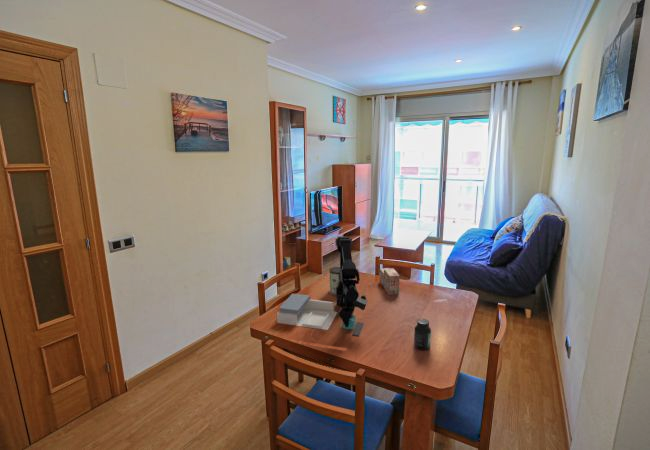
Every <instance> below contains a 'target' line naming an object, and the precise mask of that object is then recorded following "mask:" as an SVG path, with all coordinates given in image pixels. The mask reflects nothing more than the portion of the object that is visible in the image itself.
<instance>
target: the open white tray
mask: <svg viewBox="0 0 650 450" xmlns="http://www.w3.org/2000/svg"><path fill="white" fill-rule="evenodd" d="M337 315H338V311H335V302H334V301H326V300H316V299H310V300H309V301H308V302H307V303H306V305H305V306H304V307H303V309H302V310H301V311H300V312H299V314H293V313H286V312H279V311H278V312H277V313H276V319H277V320H276V321H277V322H276V323H277V324H284V325H290V326H297V327H303V328H310V329H317V330H325V331H328V330H329V329H330V327H331V325H332V324H333V321H334V319H335V318H336V316H337Z"/></svg>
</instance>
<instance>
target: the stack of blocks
mask: <svg viewBox="0 0 650 450" xmlns="http://www.w3.org/2000/svg"><path fill="white" fill-rule="evenodd" d="M379 282H380V284H381V286H382V287H383V288H384V290H385V292H386V293H387V294H388V295H389V296H394V295H398V296H399V294H400V274H399V273H398V271H396V270H395V268H390V267H385V268H379Z"/></svg>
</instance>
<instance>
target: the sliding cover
mask: <svg viewBox="0 0 650 450" xmlns="http://www.w3.org/2000/svg"><path fill="white" fill-rule="evenodd" d="M309 300H311V295H309V294H299V293H291V294H290V295H289V296H288V298H287V299H285V301H284V302H282V304H281V305H280V306H279V308H278V312H281V313H293V314H299V312H300V311H301V310H302V309H303V307H304V306H305V305H306V303H307V302H308V301H309Z"/></svg>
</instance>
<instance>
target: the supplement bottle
mask: <svg viewBox="0 0 650 450" xmlns="http://www.w3.org/2000/svg"><path fill="white" fill-rule="evenodd" d="M413 331H414V332H413V333H414V334H413V346H414V348H415V349H417V350H419V351H428V350H430V348H431V340H432V339H431V335H432V329H431V327H430V322H429V320H428V319H425V318H418V319H417V321H416V325H415V326H414V330H413Z"/></svg>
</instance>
